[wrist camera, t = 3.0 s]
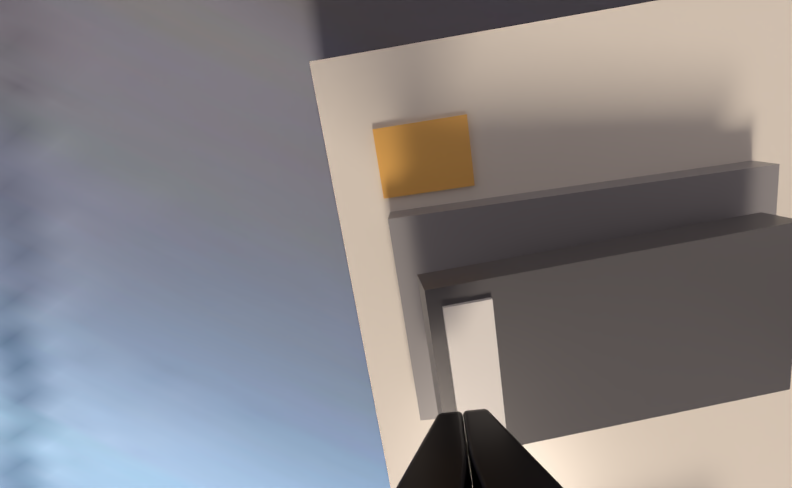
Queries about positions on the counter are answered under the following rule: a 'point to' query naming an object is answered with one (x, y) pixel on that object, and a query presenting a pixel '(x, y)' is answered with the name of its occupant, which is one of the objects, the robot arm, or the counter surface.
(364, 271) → the switch panel
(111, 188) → the counter surface
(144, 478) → the counter surface
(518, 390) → the rocker
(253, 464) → the counter surface
